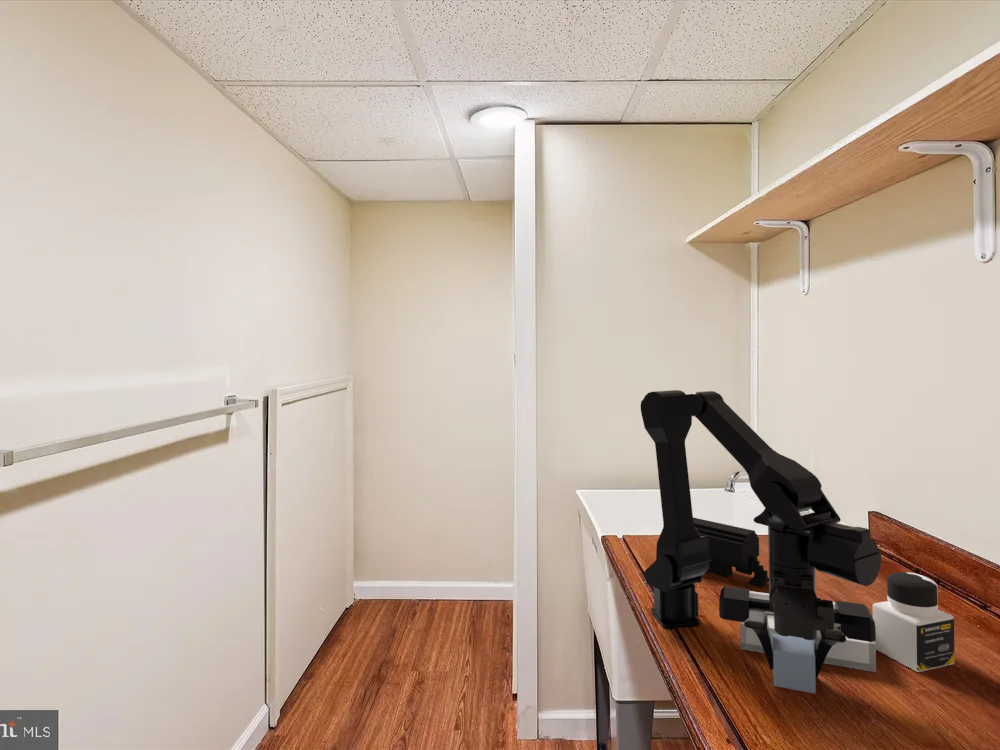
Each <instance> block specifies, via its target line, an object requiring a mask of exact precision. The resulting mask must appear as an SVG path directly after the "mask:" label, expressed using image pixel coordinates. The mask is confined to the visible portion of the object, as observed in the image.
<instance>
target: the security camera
mask: <svg viewBox="0 0 1000 750" xmlns="http://www.w3.org/2000/svg"><path fill="white" fill-rule="evenodd" d="M693 523H694V526H695V528H696V529H697V531H698V532H699V534H700V535H701V536H707V537H708V539H709V552H710V556H711V558H712V560H711V561H709V569H708V570H707V571H706V572H705V573H710V574H713V575H716V576H719V577H723V578H729V577H730V576H733V568H734V569H735V572H737V573H741V574H745V575H747V576H751V575H753V576H752V577H751V578H750V579H748V585H751V586H755V587H758V588H762V587H764V586H765V585H766V584H767V583H768V584H769V570H766V569H764V568H765V567H764V566H765V565H761V563H760V562H761V561H760V560H758V556H760V536H758V533H756V530H752V529H749V528H744V527H739V526H734V525H730V524H725V523H721V522H716V521H711V520H708V519H707V520H706V519H702V518H698V517H697V518H696V517H693Z"/></svg>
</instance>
